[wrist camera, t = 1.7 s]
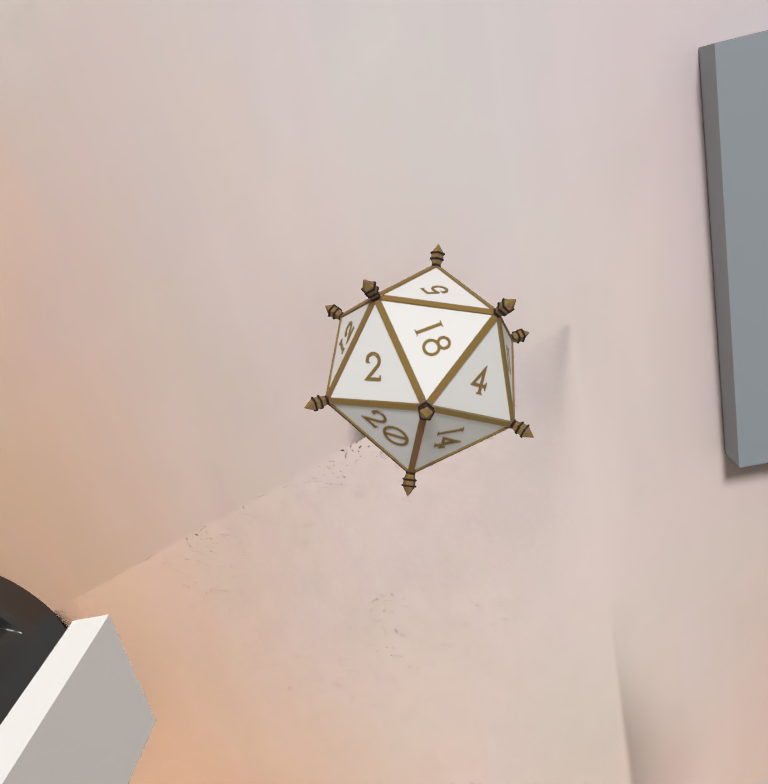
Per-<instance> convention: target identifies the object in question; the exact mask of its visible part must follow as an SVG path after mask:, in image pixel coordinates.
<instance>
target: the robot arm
mask: <svg viewBox="0 0 768 784" xmlns="http://www.w3.org/2000/svg"><path fill="white" fill-rule="evenodd" d="M155 722H156V719H155V717H154V715H153V713H152V710H151V708H150V706H149V704H148V701H147V699H146V697H145V695H144V692H143V690H142V688H141V686H140V683H139V681H138V679H137V676H136V674H135V672H134V670H133V667H132V665H131V663H130V661H129V658H128V656H127V654H126V652H125V649H124V647H123V645H122V643H121V640H120V638H119V636H118V634H117V631H116V629H115V627H114V625H113V622H112V620H111V618H110V616H109V615H104V616H98V617H92V618H86V619H80V620H74V621H73V622H72V623H71V624H70V626H69V627H68V628H67V627H66V626H65V624H64V623H63V622H62V621H61V620H60V619H59V618H58V616H57V615H56V614H55V613H54V612H53V611H52V610H51V609H50V608H48V607H47V606H46V605H45V604H44V603H43V602H41V601H40V600H39V599H38V598H36V597H35V596H34V595H32V594H31V593H30V592H28V591H27V590H25V589H23V588H22V587H20V586H19V585H17V584H15V583H13V582H12V581H10V580H8V579H6V578H4V577H1V576H0V784H128V783H129V781H130V778H131V776H132V774H133V772H134V769H135V767H136V765H137V763H138V760H139V758H140V756H141V753H142V751H143V749H144V747H145V744H146V742H147V740H148V737H149V735H150V733H151V731H152V728H153V726H154V724H155Z"/></svg>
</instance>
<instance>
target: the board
mask: <svg viewBox="0 0 768 784" xmlns="http://www.w3.org/2000/svg"><path fill="white" fill-rule="evenodd" d="M699 57H700V72H701V88H702V103H703V118H704V133H705V149H706V164H707V179H708V195H709V210H710V225H711V240H712V256H713V271H714V286H715V301H716V317H717V332H718V347H719V362H720V378H721V393H722V408H723V423H724V439H725V454H726V455H727V456H728V457H729V458H730V459H731V460H732V461H733V462H734V463H735V464H736V465H737V466H738V467H739V468H741V467H747V466H752V465H758V464H763V463H768V30H767V31H763V32H759V33H755V34H751V35H746V36H742V37H738V38H734V39H730V40H726V41H722V42H718V43H714V44H711V45H707V46H704V47H700V48H699Z"/></svg>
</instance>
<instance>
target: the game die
mask: <svg viewBox="0 0 768 784" xmlns="http://www.w3.org/2000/svg"><path fill="white" fill-rule="evenodd" d="M431 254H432V256H431V257H430V259H431V261H432V266H430V267H428V268H426V269H424V270H422V271H420V272H418V273H416V274H415V275H413V276H411V277H409V278H407V279H405V280H403V281H401V282H399V283H397V284H395V285H393V286H391V287H389V288H387V289H385V290H383V291H381V292H378V290H379V287H378V286H376V282H371V281H367V280H363V288H362V289H361V290H362V291H363V292H364V293H365V295H366V296H367V297H368V299H367V300H365V301H363V302H362V303H360V304H358V305H356V306H355V307H353V308H351V309H350V310H348V311H346V312H345V313H343V312H342V310H341V309H340V308H339V307H337V306H336V305H334V304H333V305H329V306H325V307H326V309H327V312H328V317H330V316H331V317H333V319H339V320H340V322H339V327H338V333H337V338H336V344H335V349H334V354H333V360H332V365H331V370H330V376H329V381H328V386H327V392H326V395H325V396H319V395H317V397H315V398H313V397H311V400H310V401H309V402H308V404H307V405H306V406H305V407H304V408H306V409H311V410H314V411H318V409H323V408H324V406H326V405H329V406H331V407H332V408H333V409H334V410H335V411H336V412H338V413H339V414H340V415H341V416H342V417H343V418H345V419H346V420H347V421H348V422H349V423H350V424H352V425H353V426H354V427H355V428H356V429H357V430H359V431H360V432H361V433H362V434H363V435H364V436H365V437H367V438H368V439H369V440H370V441H371V442H372V443H374V444H375V445H376V446H377V447H378V448H379V449H381V450H382V451H383V452H384V453H385V454H386V455H388V456H389V457H390V458H391V459H392V460H393V461H395V462H396V463H397V464H398V465H399V466H400V467H402V468H403V469H404V470H405V471H406V475H405V477H404V478H403V480H404V481H403V484H402V486H403V487H404V489H405V492H406V494H407V496H408V495H409V494H410V493H411V492H412V490H413V489H414V488H415V487H416V486H415V481H417V480H415V473H416V472H418V471H420V470H422V469H424V468H426V467H428V466H430V465H433V464H435V463H437V462H439V461H441V460H443V459H445V458H447V457H449V456H451V455H454V454H456V453H458V452H460V451H462V450H464V449H466V448H468V447H470V446H473V445H475V444H477V443H479V442H481V441H483V440H485V439H487V438H489V437H492V436H494V435H496V434H498V433H500V432H502V431H504V430H506V429H508V428H512V429H513V430H514V431H515V433H516V434H517V433H518V434H519V435H520V437H521V438H522V437H532V438H534V437H533V435H532V432H531V430H530V428H529V425H525V424H524V422H523V421H522V422H518V421H516V420H515V399H514V357H513V342H517V343H519V342H520V341H522V342H524V340H525V338H526V336H527V335H528V333H529V332H527V331H524V330H523V329H519V330H517V331H514V332H512V334H510V332H509V330H508V329H507V327H506V325H505V323H504V321H503V319H502V317H501V316H506V315H507V314H508V313H510V312H512V311H513V310H514V305H515V302H516V299H504V298H503V299H502V302H498V306H497V307H496V308H494V307H493V306H491V305H490V304H489V303H487V302H486V301H485V300H483V299H482V298H481V297H479V296H478V295H477V294H475V293H474V292H473V291H471V290H470V289H469V288H468V287H466V286H465V285H464V284H462V283H461V282H460V281H458V280H457V279H456V278H454V277H453V276H452V275H450V274H449V273H448V272H446V271H445V270H444V269H442V268H441V263H442V261H444V259H443V256H444V255H445V253H443V251H442V249H441V248H440V246H439V244H438V245H437V247H436V248H435V249H434V250H433V251H432V252H431Z"/></svg>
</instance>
